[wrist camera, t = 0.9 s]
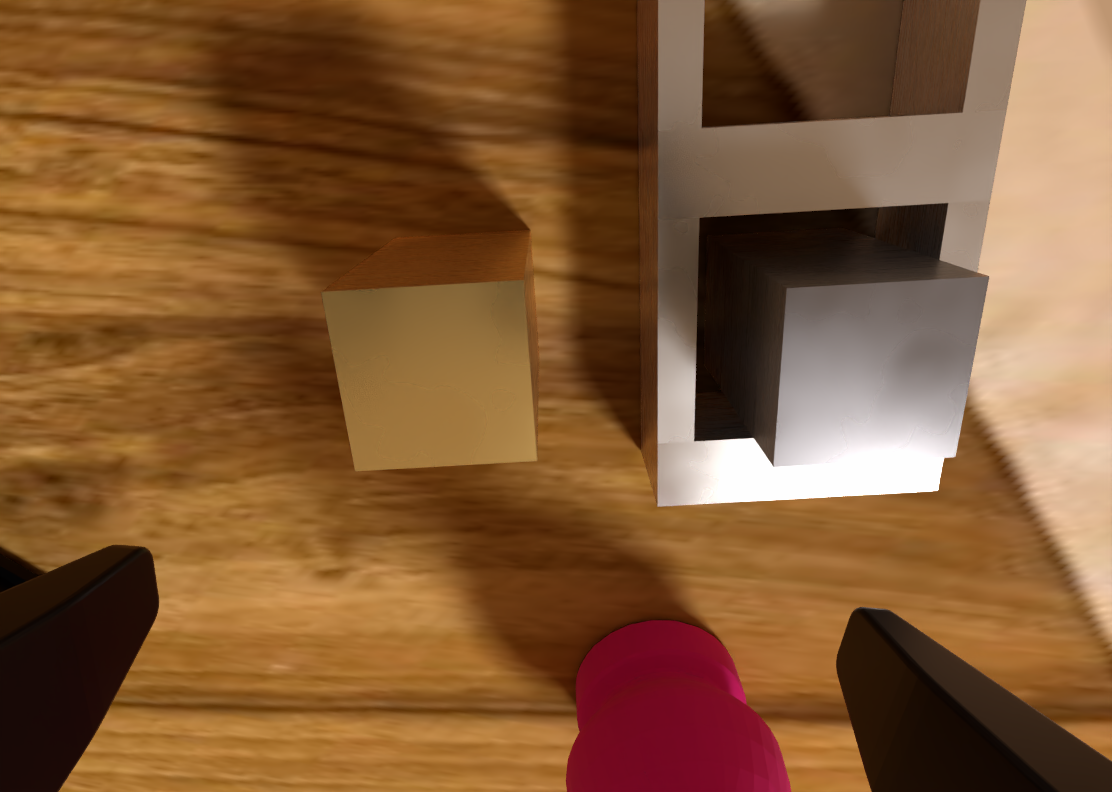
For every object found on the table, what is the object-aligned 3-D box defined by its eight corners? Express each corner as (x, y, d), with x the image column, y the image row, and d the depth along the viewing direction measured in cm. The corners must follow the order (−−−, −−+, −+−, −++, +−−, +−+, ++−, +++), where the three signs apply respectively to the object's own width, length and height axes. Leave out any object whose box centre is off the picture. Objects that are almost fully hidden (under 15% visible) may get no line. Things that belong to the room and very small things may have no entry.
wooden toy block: (413, 365, 21) (354, 471, 15) (395, 237, 20) (321, 292, 13) (539, 358, 21) (536, 460, 15) (530, 229, 20) (523, 280, 13)
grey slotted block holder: (880, 437, 22) (1019, 565, 16) (641, 451, 22) (680, 583, 16) (977, -258, 16) (1287, -537, 9) (634, -237, 16) (699, -499, 9)
